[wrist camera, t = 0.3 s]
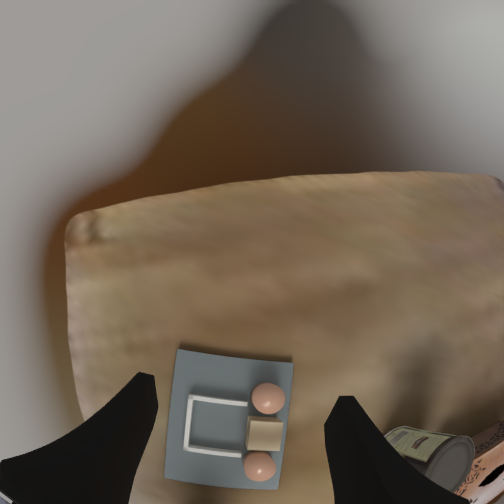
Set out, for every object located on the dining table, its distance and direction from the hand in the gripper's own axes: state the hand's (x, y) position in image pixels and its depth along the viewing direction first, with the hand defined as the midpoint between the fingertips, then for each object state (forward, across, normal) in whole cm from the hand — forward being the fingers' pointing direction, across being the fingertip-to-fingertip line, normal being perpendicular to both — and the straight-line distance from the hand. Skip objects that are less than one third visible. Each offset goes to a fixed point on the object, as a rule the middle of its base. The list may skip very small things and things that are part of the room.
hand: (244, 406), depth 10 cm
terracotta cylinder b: (+19, -4, +21) cm, 28 cm away
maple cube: (+16, -4, +24) cm, 29 cm away
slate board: (+16, 0, +25) cm, 30 cm away
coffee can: (+13, -28, +30) cm, 43 cm away
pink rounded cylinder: (+12, -4, +28) cm, 31 cm away
